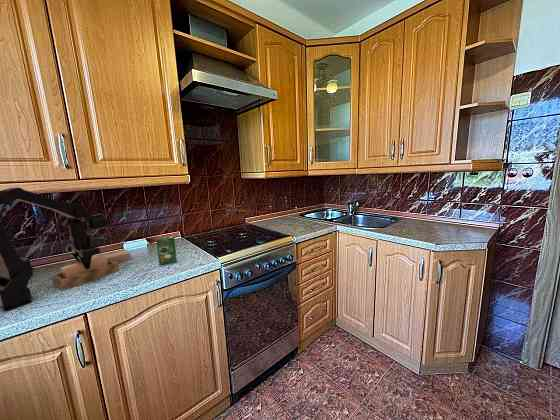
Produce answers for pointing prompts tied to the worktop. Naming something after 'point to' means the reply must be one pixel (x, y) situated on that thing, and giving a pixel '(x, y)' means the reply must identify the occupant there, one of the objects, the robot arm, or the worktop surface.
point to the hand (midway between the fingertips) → (85, 268)
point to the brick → (117, 256)
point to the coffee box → (166, 250)
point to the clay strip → (79, 268)
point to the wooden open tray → (84, 276)
